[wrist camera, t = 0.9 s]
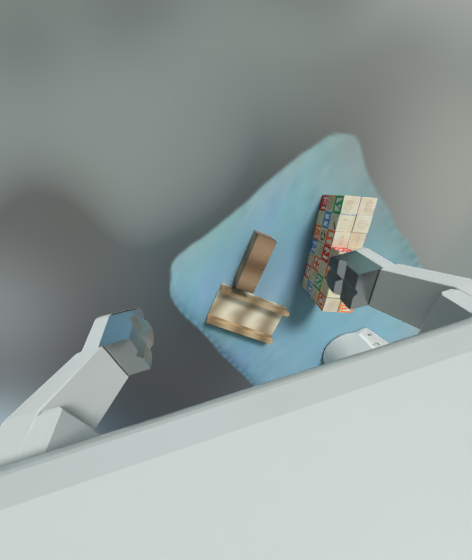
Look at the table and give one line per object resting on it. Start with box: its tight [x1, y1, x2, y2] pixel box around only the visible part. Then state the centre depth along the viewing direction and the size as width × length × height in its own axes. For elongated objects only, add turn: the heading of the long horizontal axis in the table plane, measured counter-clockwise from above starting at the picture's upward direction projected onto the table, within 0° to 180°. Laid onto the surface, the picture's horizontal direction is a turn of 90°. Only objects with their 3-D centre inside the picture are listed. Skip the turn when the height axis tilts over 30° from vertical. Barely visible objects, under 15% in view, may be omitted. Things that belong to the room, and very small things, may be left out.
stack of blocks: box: [302, 195, 378, 313], centre depth 43 cm, size 21×6×12 cm, turn 175°
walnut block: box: [235, 230, 277, 293], centre depth 46 cm, size 12×4×6 cm, turn 159°
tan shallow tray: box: [206, 283, 290, 344], centre depth 53 cm, size 18×10×3 cm, turn 66°
